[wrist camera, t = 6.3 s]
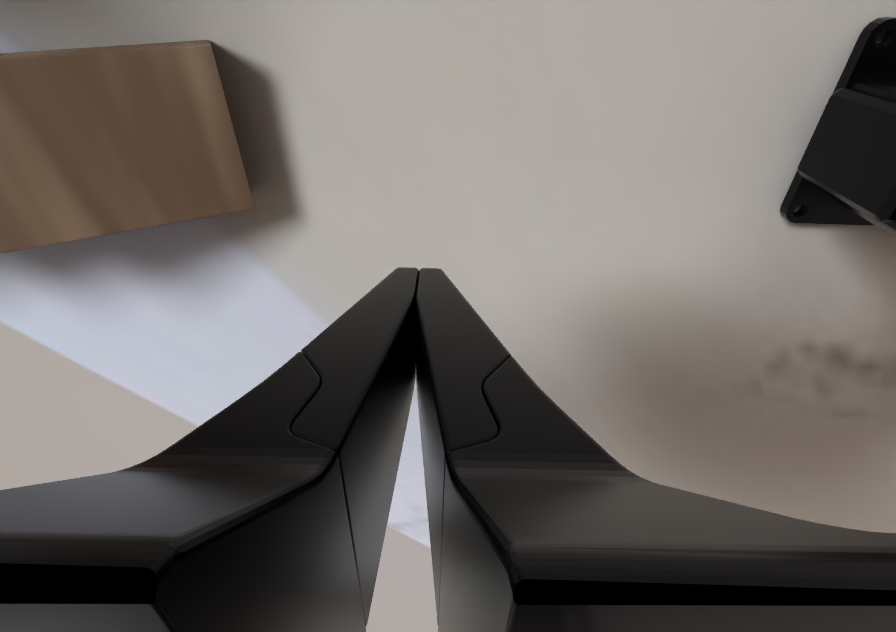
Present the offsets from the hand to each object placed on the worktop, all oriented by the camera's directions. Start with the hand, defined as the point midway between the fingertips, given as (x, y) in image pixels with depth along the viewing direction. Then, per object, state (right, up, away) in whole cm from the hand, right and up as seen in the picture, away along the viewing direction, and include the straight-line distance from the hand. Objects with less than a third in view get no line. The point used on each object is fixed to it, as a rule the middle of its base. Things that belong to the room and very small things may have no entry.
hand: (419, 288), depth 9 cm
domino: (-7, +6, +7) cm, 11 cm away
